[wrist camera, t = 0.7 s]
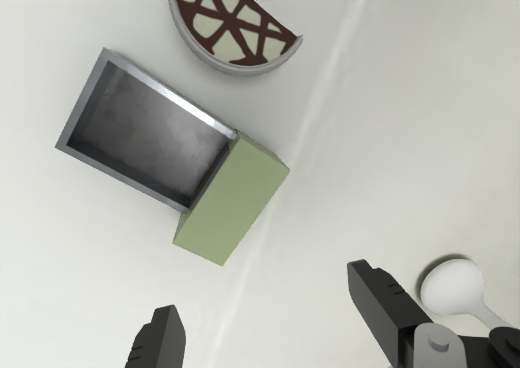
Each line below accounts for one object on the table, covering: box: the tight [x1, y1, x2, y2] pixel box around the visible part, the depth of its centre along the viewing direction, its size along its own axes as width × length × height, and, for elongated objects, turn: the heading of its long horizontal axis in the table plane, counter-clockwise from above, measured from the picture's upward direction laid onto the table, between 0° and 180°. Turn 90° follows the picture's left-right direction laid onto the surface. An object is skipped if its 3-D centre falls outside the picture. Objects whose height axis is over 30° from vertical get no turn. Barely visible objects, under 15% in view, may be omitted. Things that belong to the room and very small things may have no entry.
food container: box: [168, 0, 303, 76], centre depth 25 cm, size 12×6×10 cm, turn 57°
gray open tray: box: [55, 47, 237, 214], centre depth 30 cm, size 12×15×4 cm
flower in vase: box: [421, 259, 517, 330], centre depth 36 cm, size 13×11×25 cm
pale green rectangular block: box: [172, 129, 290, 266], centre depth 32 cm, size 14×7×7 cm, turn 146°
